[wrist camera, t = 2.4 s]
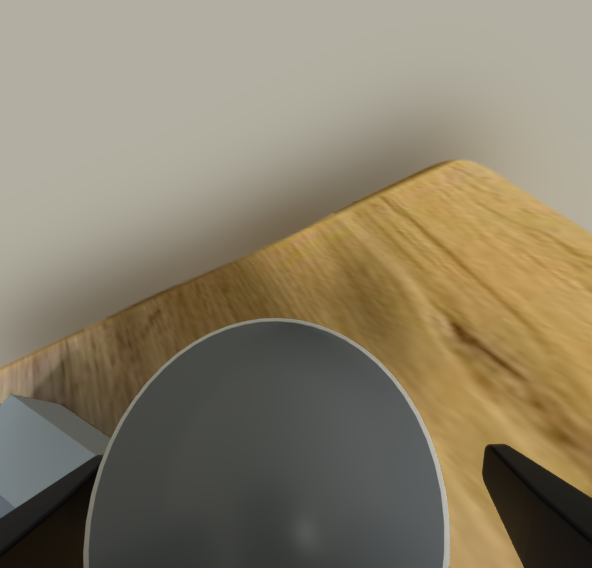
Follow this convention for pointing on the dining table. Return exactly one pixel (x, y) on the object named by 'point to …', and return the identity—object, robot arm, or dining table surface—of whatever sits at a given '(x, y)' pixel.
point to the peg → (269, 461)
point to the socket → (40, 447)
